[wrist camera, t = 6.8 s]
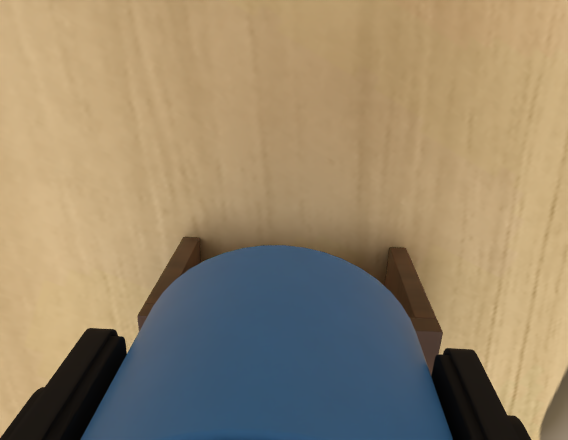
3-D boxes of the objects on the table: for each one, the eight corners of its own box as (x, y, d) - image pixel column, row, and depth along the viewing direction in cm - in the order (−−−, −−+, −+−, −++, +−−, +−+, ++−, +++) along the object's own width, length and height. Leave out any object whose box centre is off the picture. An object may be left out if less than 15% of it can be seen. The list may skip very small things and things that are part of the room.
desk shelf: (183, 236, 34) (126, 332, 24) (406, 247, 34) (451, 350, 23) (190, 370, 39) (146, 500, 28) (387, 381, 38) (416, 518, 28)
